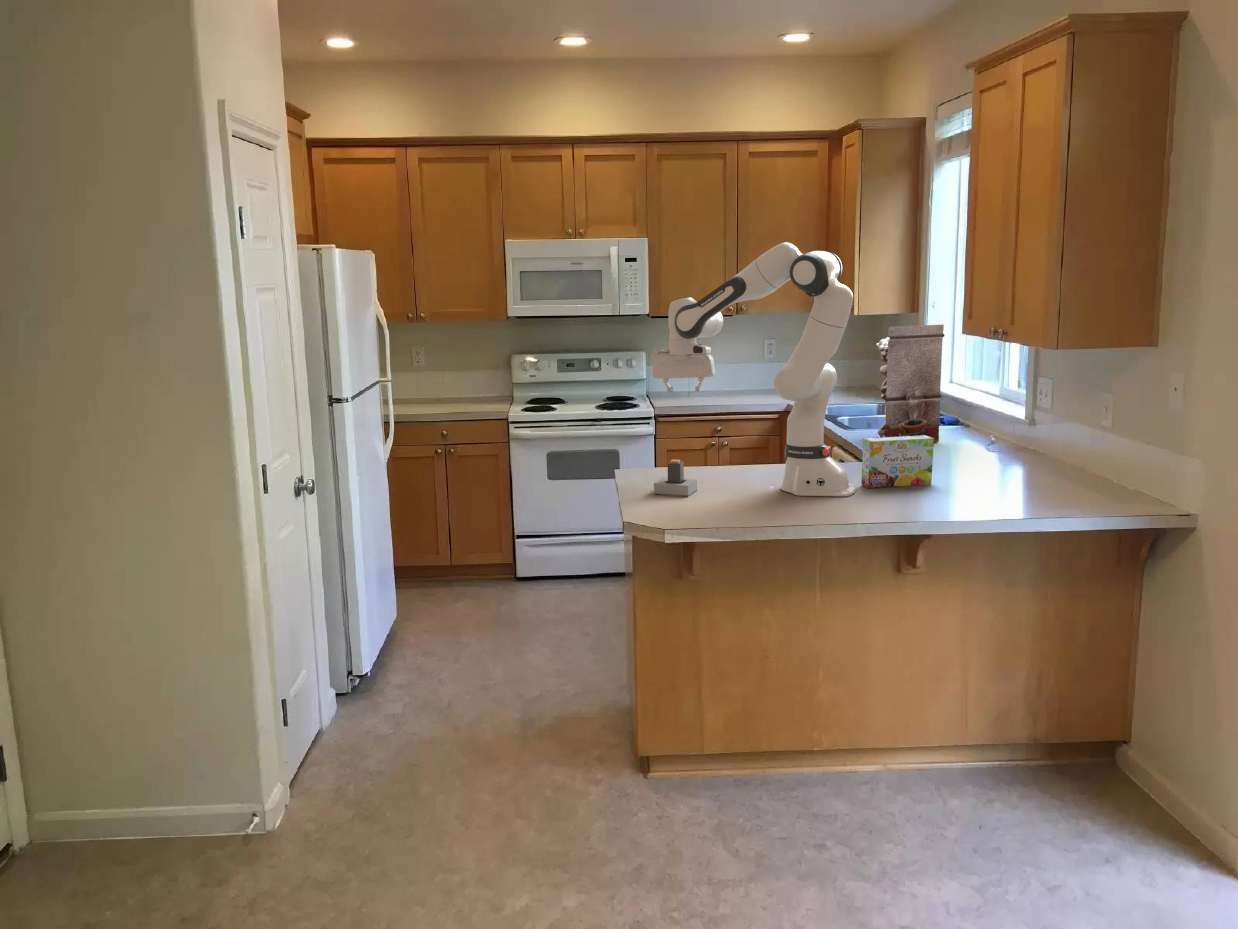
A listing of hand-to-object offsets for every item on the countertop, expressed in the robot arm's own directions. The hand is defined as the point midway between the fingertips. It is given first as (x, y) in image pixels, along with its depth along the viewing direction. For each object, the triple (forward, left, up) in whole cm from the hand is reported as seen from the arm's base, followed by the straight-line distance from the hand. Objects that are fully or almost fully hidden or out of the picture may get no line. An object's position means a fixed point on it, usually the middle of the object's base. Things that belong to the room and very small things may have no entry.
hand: (684, 392), depth 304 cm
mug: (-65, -44, -29) cm, 84 cm away
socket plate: (-4, +20, -28) cm, 35 cm away
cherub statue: (-59, -88, -29) cm, 110 cm away
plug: (-4, +20, -28) cm, 35 cm away
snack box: (-66, -9, -29) cm, 73 cm away
